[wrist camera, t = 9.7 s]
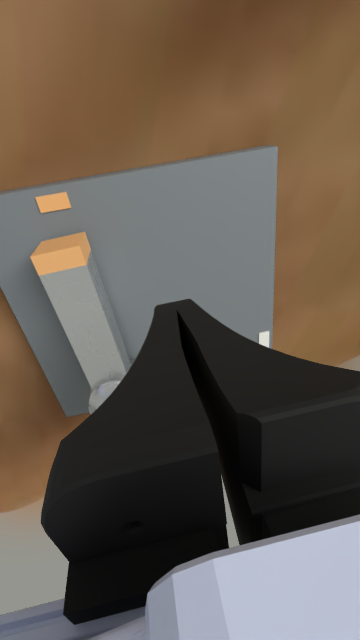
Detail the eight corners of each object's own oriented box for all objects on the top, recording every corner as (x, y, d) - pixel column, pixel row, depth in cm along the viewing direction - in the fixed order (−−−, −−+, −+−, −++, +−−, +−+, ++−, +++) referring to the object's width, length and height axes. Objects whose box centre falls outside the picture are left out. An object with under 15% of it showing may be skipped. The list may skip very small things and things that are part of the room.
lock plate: (69, 403, 26) (56, 471, 20) (-31, 197, 17) (-98, 225, 12) (264, 360, 27) (298, 415, 21) (266, 145, 18) (325, 150, 13)
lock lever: (147, 385, 24) (150, 418, 21) (101, 396, 23) (98, 431, 21) (95, 228, 17) (90, 246, 14) (31, 242, 17) (14, 263, 14)
